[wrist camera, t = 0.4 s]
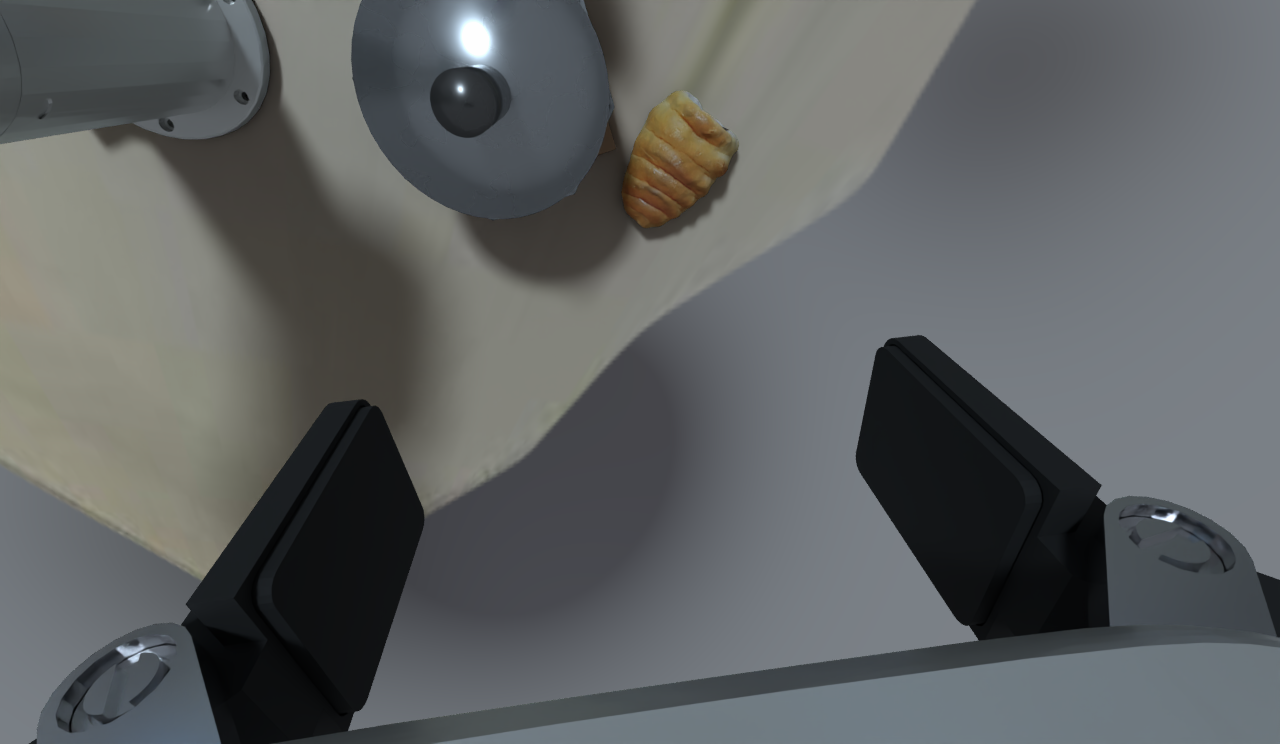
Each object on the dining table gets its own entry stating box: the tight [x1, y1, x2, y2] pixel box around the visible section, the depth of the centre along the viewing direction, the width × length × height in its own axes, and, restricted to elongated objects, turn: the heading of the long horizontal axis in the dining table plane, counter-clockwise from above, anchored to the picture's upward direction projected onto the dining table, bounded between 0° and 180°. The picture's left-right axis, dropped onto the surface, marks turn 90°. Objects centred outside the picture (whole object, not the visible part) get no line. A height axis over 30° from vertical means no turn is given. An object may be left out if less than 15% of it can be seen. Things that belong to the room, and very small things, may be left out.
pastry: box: [621, 91, 739, 228], centre depth 38 cm, size 9×7×4 cm
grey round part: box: [351, 0, 615, 220], centre depth 29 cm, size 14×14×14 cm
